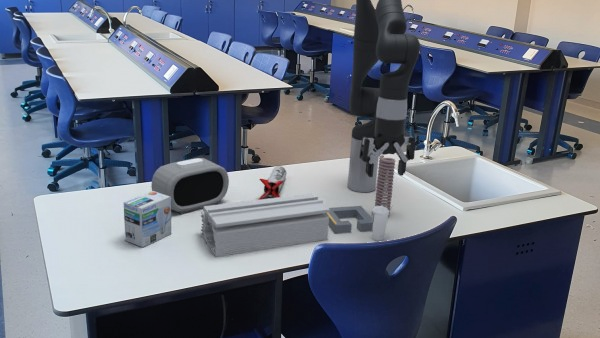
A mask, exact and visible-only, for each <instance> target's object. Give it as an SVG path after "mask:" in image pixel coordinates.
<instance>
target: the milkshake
mask: <svg viewBox="0 0 600 338" xmlns="http://www.w3.org/2000/svg"><path fill="white" fill-rule="evenodd" d="M392 208H393V206H391V207H390V210H388V209H387V208H386V207H384V206H382V205H381V206H375V205H374V207H372V209H371V217H372V231H371V239H372V240H374V241H379V242H380V241H381V242H382V241H383V240H384V239H385V235H386V229H387V223H388V218H389V216H390V214H389V211H390V212H391V209H392Z"/></svg>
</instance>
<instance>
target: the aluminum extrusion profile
mask: <svg viewBox="0 0 600 338" xmlns="http://www.w3.org/2000/svg"><path fill="white" fill-rule="evenodd" d="M329 208H330V207H328V206H326V205H325V204H324V200H323V199H319V196H318V195H317V196H315V195H314V194H312V193H305V194H296V195H289V196H288V195H287V196H280V197H278V198H275V197H270V198H262V199H261V200H258V199H253V200H247V201H246V200H245V201H238V202H229V203H221V204H220V203H219V204H215V205H211V206H203V208H202V210H203V211H200V213H201V215H200V217H201V219H200V220H201V223H202V224H201V228H200V231H201V232H200V234H201V235H202V237H203V238H204V241H205V242H206V243H207V244H208V247H209V248H210V250H211V251H212V253H213V254H214V256H215V257H216V258H218V257H224V256H230V255H231V256H232V255H237V254H244V253H250V252H255V251H264V250H270V249H276V248H281V247H282V248H283V247H289V246H297V245H303V244H309V243H314V242H321V241H327V240H329V239H328V238H329V236H328V235H329V228H330V226H329V217H328V216H327V215H326V214H325V213H329V212H330V209H329Z"/></svg>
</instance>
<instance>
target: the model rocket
mask: <svg viewBox="0 0 600 338" xmlns="http://www.w3.org/2000/svg"><path fill="white" fill-rule="evenodd" d="M287 174H288V173H287V170H286V168H285V167H284V166H280V165H279V166H278V165H277V166H275V167H274V168H273V169H272V171H271V173H270V175H269V177H268V178H267V179H265V178H259V181H260V182H261V183H262V184H263V185H264V186H263V194H262V195H261V196H260V197H259V198H258V199H257V200H261V199H265V197H267V196H268V197H270V198H278V197H281V196H280V195H281V194H280V190H281V188H282V186H283V185H284V183H285V179H286V177H287Z"/></svg>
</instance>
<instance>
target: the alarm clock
mask: <svg viewBox="0 0 600 338" xmlns="http://www.w3.org/2000/svg"><path fill="white" fill-rule="evenodd" d="M229 183H230V180H229V174H228V172H227V170H226V169H225V167H223V166H221V165H219V164H217V163H215V162H213V161H210V160H208V159H206V158H204V157H197V158H191V159H185V160H179V161H175V162H170V163H167V164H165V165H161V166H159V168H157V169H156V170H155V172H154V174H153V175H152V179H151V186H150V187H151V191H155V192H158V193H161V194H164V195H167V196H170V197H171V211H172V210H173V211H175V212H177V213H180V214H186V213H189V212H192V211H196V210H200V209H203V206H211V205H216V203H218V202H220V201H222V200H223V199H224V198H225V197H226V194H227V193H228V189H229Z"/></svg>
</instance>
